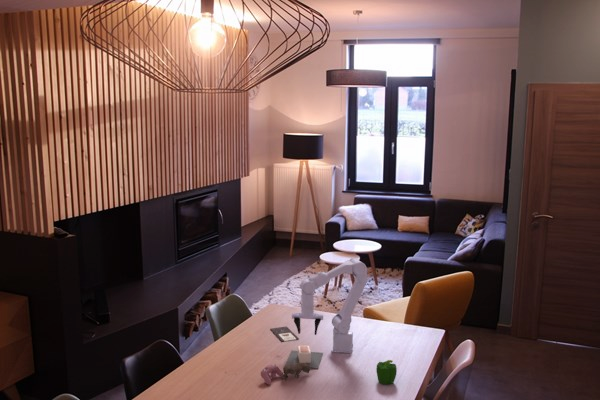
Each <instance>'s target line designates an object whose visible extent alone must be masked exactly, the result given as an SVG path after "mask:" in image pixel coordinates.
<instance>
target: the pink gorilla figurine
mask: <svg viewBox="0 0 600 400" xmlns="http://www.w3.org/2000/svg"><path fill="white" fill-rule="evenodd" d="M277 375H278V377H280V378H282V379H283V375H284V373H283V370H281V368H280V367H279V366H278V365H277V364H269V365H266V366H265V367H264V368H263V369H262V370H261V371H260V376H261V378H262V379H263V380H264V382H265V383H266V384H267V385H269V386H271V385H272V379H276V377H277Z"/></svg>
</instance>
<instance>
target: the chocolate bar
mask: <svg viewBox="0 0 600 400" xmlns="http://www.w3.org/2000/svg"><path fill="white" fill-rule="evenodd" d="M270 331H271V332H272V333H273V335H275V336H276V338H277V339H279V341H280V342H281V343H284V342H291V341H297V340H298V341H299V337H298V336H297V335H296V334H295V333H294V332H293V331H292V330H291V329H290V328H289V327H288V326H280V327H272V328H270Z"/></svg>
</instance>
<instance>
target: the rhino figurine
mask: <svg viewBox="0 0 600 400" xmlns="http://www.w3.org/2000/svg"><path fill="white" fill-rule="evenodd" d="M306 364H307V362H306V363H305V364H303V363H298V364H294V365H285V364H284V365H285V366H283V368H282V372H283V374H284V375H283V378H282V381H286V380H287V378H289V374H290V375H295V378H296V379H299V378H301V377H300V374H301V372H302V371H303V372H304V373H307V374H309V373H310V371H311V370H313V369H312V367H311V368H310V369H309V365H308V366H307V365H306ZM307 367H308V368H307Z"/></svg>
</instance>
